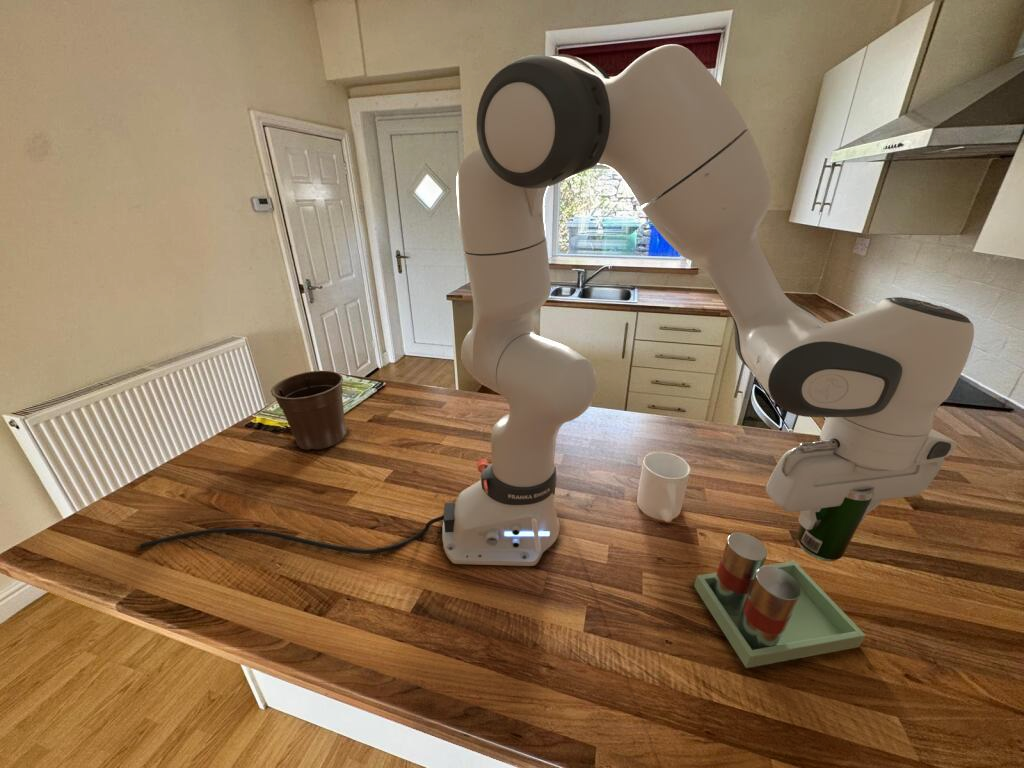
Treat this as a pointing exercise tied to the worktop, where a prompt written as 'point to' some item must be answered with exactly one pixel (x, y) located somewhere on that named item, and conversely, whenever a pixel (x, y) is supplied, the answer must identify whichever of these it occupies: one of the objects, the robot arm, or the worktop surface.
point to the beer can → (835, 527)
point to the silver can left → (738, 571)
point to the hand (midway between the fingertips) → (829, 522)
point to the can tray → (789, 623)
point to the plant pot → (313, 408)
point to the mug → (662, 485)
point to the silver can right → (768, 607)
